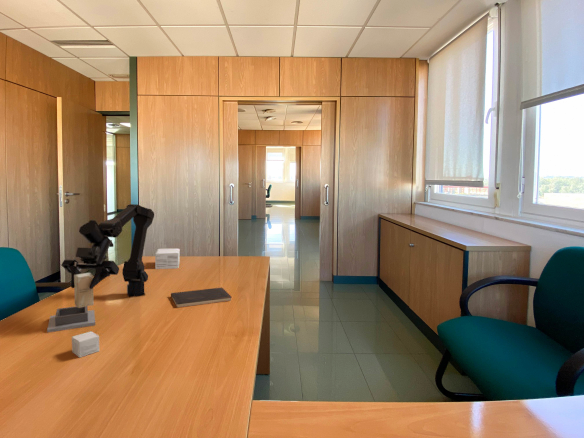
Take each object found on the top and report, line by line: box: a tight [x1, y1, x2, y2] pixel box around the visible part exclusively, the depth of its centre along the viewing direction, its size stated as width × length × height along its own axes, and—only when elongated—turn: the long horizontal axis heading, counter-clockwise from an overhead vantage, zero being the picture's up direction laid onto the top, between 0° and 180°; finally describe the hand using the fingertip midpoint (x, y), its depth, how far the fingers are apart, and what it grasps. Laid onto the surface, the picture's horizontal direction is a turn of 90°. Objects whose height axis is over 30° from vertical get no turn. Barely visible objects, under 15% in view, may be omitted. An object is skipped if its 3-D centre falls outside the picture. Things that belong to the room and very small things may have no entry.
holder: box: [46, 305, 96, 334], centre depth 129 cm, size 14×14×4 cm
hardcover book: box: [170, 287, 232, 308], centre depth 158 cm, size 16×23×2 cm
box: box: [73, 272, 95, 308], centre depth 127 cm, size 5×4×11 cm
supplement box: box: [154, 247, 181, 270], centre depth 219 cm, size 17×13×9 cm
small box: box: [71, 331, 100, 358], centre depth 107 cm, size 6×6×5 cm
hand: (81, 288), depth 126 cm, fingers closed on box, 6 cm apart
